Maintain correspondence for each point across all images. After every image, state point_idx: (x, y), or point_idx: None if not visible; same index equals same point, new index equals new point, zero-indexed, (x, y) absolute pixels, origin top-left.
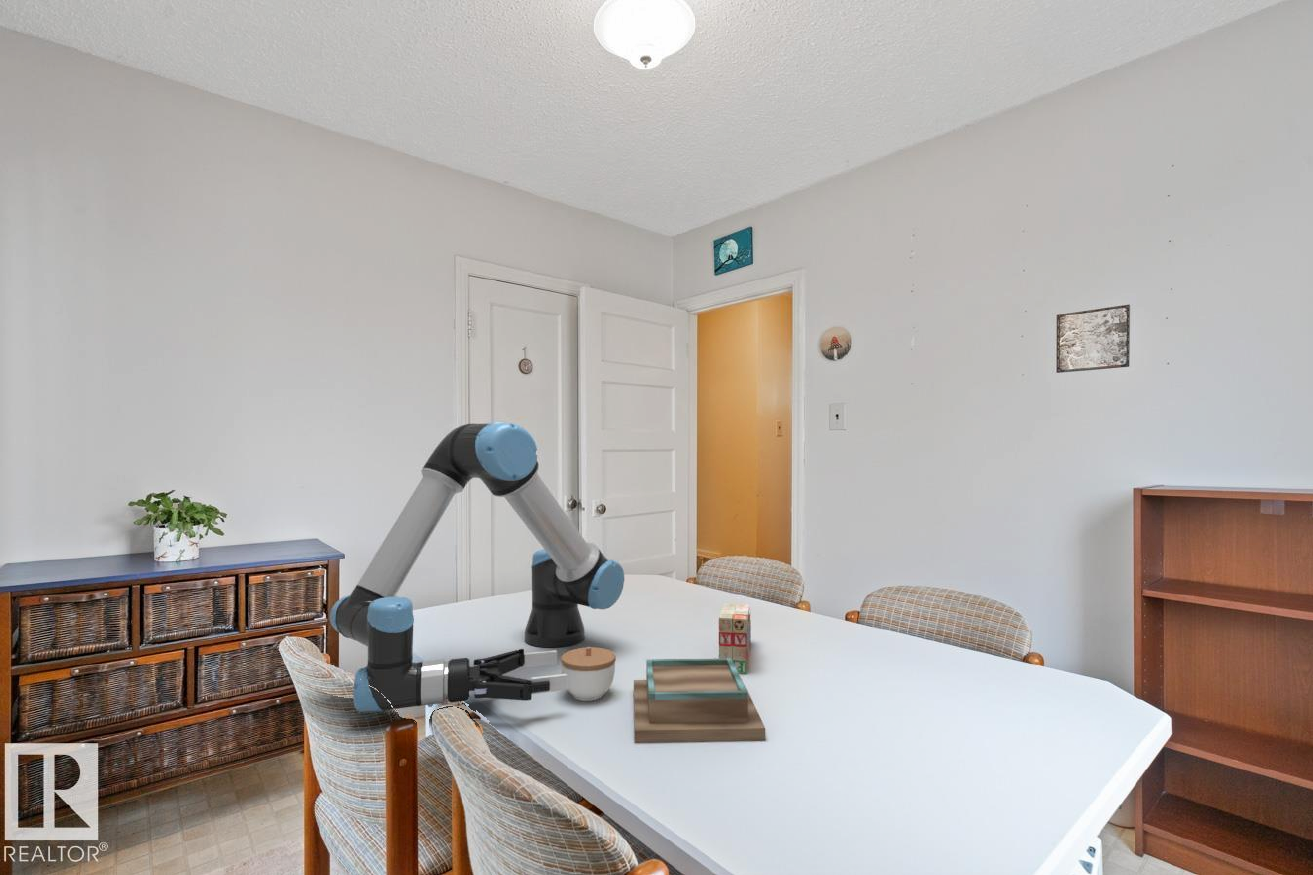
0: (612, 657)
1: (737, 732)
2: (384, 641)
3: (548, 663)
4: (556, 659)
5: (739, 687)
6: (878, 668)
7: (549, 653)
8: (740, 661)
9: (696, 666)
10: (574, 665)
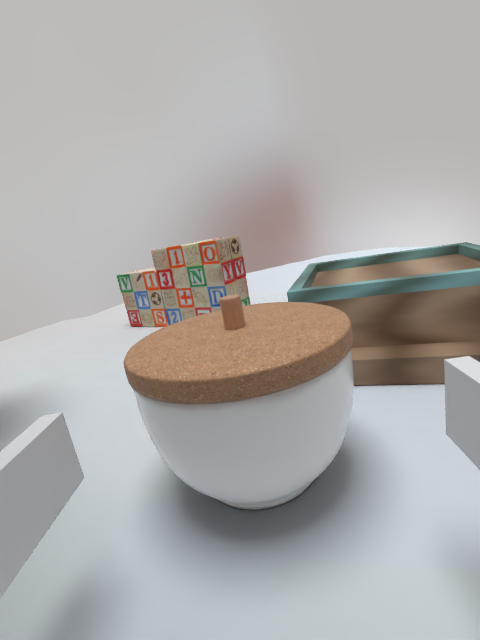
0: (279, 302)
1: None
2: None
3: (52, 506)
4: (73, 455)
5: (443, 247)
6: (275, 281)
7: (38, 446)
8: (244, 299)
9: (317, 280)
10: (335, 344)
